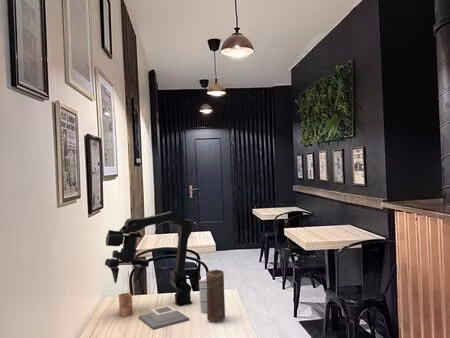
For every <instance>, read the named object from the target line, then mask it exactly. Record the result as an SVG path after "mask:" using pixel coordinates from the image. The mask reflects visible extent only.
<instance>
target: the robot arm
mask: <svg viewBox="0 0 450 338" xmlns="http://www.w3.org/2000/svg"><path fill="white" fill-rule="evenodd" d="M168 221H169V222H170V223H172V224H174V225H175V226H176V233H177V239H178V240H177V245H176V246H177V248H176V257H175V264H174V265H175V267H174V269H173V271H172V270H170V272H169V273H170V275H169V279H168V280H169V281H170V282H169V283H170V284H171V285H172V287H174V289H175V294H174V304H175V305H178V306H180V307H182V306H186V305H192V304H193V301H192V300H191V299H192V298H191V291H192V289H193V286H192V285H190V284H189V283H188V282H187V280H188V278H187V272H186V261H187V250H188V241H189V238H190V236H191V234H192V230H193V226H194V223H193V222H192V221H191V220H190V219H185V218H183V217H182V216H180V215H179V214H176V212H174V211H171V210H170V211H167V212H163V213H159V214H155V215H150V216H146V217H130V218H127V219H126V220H125V222H124V225H123V226H122V227H121V228H120V229H119V230H112V229H108V230H107V234H106V237H105V246H106V247H120V246H121V245H122V247H121V249H120V251H119V250H116V249H115V250H113V251H112V254H111V256H112V257H111V258H106V259H105V262H104V265H105V266H106V267H107V268H109V269H110V271H111V273H112V279H113V282H114V284H117V282H118V277H119V271H120V268H119V266H134V275H133V283H136V282H137V280H138V279H139V277H140V275H141V274H142V272H143V271H144V270H146V268H148V267H150V262H149V260H148V259H145V258H135V257H136V254H137V253H138V250H137V244H138V243H137V242H138V238H143V236H142V235H141V233H140V232H139V231H141V230H143V229H145V228H147V227H149V226H152V225H153V226H154V225H156V224H157V225H158V224H162V223H165V222H168Z"/></svg>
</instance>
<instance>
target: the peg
mask: <svg viewBox="0 0 450 338" xmlns="http://www.w3.org/2000/svg"><path fill="white" fill-rule="evenodd" d="M118 304H119V316H120V317H121V318H122V319H123V318H127V317H131V316H134V312H133V311H134V309H133V294H132V293H129V292H125V293H120V294H118Z"/></svg>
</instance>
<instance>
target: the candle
mask: <svg viewBox="0 0 450 338" xmlns="http://www.w3.org/2000/svg"><path fill="white" fill-rule="evenodd" d="M224 276H225V273H224V271H223V270H220V269H211V270H209V271H207V273H206V276H205V277H207V313H206V315H207V316H206V317H207V319H206V320H207V321H209V322H210V321H211V322H217V323H218V322H221V321H222V320H223V319H225V318H226V307H225V279H224V278H225V277H224Z"/></svg>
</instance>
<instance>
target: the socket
mask: <svg viewBox="0 0 450 338" xmlns="http://www.w3.org/2000/svg"><path fill="white" fill-rule="evenodd" d="M149 311H150V313H147V314H146V313H145V314H143V315H139V316H138V318H139V320H140V321H142V322H143V323H144V324H146V326H148V327H149V328H151V330H158V329H162V328H165V327H169V326H173V325H177V324H182V323H185V322H188V321H190V317H188V316H187V315H185V314H184V313H182V312H180V311H179V310H177V309H176V308H173V307H172V306H171V305H169V304H168V305H164V306H161V307H156V308H151V309H150V310H149Z"/></svg>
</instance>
